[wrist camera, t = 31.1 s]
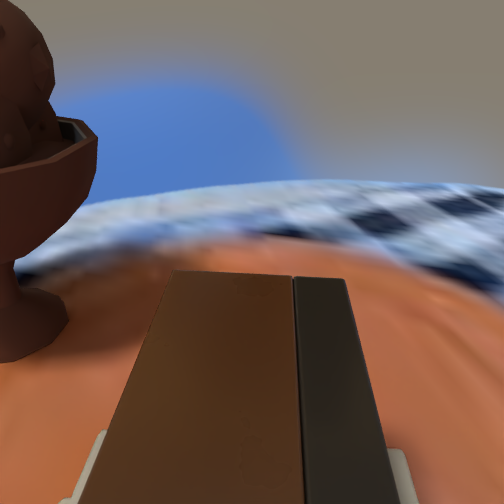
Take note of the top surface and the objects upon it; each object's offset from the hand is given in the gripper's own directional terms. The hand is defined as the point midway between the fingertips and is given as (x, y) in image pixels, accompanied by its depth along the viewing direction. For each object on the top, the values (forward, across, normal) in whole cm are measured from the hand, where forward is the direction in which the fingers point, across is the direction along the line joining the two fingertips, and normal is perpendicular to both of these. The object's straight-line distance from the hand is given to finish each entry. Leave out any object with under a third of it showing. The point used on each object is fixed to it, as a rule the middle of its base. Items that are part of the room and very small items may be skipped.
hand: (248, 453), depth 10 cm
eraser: (-1, 0, +5) cm, 5 cm away
